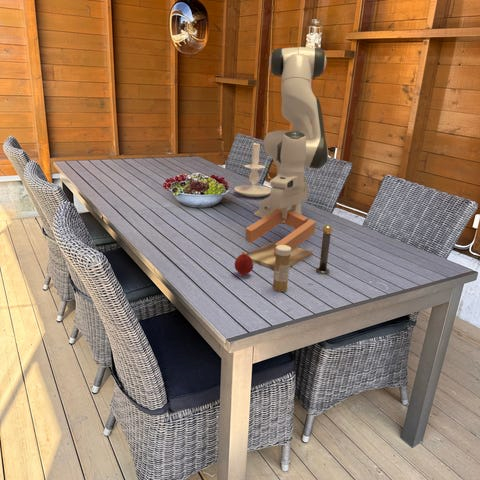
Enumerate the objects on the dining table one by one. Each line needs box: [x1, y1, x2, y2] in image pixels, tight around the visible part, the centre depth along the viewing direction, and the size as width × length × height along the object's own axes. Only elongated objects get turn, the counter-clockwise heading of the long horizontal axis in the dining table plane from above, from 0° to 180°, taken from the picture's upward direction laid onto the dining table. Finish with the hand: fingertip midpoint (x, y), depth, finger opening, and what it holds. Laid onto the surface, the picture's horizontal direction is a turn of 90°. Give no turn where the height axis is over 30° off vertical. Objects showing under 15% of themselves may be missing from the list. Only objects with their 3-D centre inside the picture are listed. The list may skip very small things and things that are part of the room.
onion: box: [234, 251, 254, 277], centre depth 144 cm, size 6×6×8 cm
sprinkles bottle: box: [272, 245, 291, 292], centre depth 135 cm, size 5×5×13 cm
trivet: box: [246, 240, 314, 270], centre depth 162 cm, size 16×21×1 cm
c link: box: [244, 209, 317, 257], centre depth 159 cm, size 20×15×5 cm
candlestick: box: [234, 142, 273, 198], centre depth 240 cm, size 21×25×28 cm
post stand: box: [315, 225, 333, 275], centre depth 149 cm, size 4×4×16 cm
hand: (288, 217), depth 165 cm, fingers closed on c link, 3 cm apart
